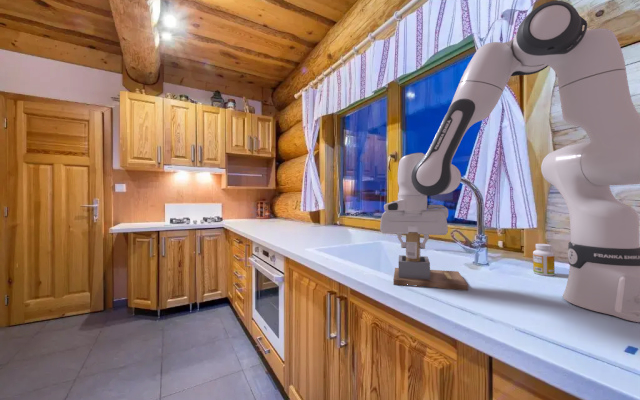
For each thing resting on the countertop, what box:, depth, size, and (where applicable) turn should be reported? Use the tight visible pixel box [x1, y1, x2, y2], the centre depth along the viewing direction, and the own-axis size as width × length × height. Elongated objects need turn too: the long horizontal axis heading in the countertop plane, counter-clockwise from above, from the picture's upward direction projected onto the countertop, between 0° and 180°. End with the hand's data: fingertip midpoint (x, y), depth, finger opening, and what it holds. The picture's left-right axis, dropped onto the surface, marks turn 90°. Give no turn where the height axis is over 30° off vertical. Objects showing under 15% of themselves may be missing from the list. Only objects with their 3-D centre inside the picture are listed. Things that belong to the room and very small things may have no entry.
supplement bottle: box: [532, 243, 555, 277], centre depth 88 cm, size 5×5×10 cm
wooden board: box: [393, 267, 469, 291], centre depth 84 cm, size 20×14×2 cm
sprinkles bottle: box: [405, 226, 421, 262], centre depth 85 cm, size 5×5×14 cm
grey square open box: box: [398, 254, 431, 280], centre depth 85 cm, size 9×9×5 cm
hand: (412, 248), depth 85 cm, fingers closed on sprinkles bottle, 4 cm apart
